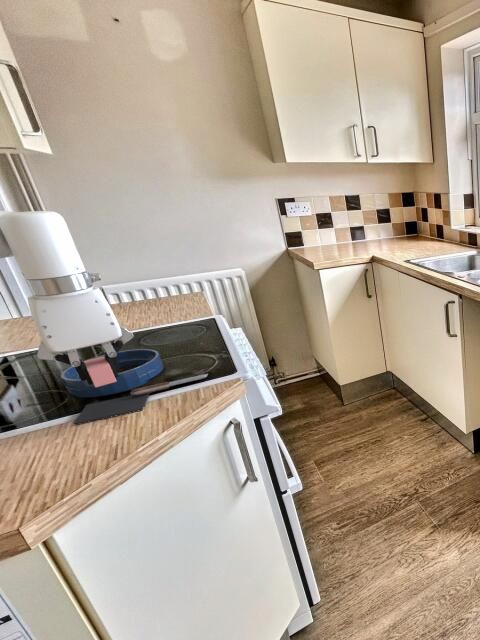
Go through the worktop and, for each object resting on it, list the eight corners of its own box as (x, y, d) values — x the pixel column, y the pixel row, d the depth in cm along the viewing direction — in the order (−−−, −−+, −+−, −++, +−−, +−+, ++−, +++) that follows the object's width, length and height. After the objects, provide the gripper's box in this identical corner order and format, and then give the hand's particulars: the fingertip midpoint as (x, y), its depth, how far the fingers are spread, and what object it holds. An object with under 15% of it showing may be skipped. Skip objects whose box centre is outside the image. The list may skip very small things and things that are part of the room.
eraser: (95, 387, 77) (87, 370, 76) (90, 377, 81) (82, 361, 80) (116, 381, 79) (109, 364, 78) (110, 372, 83) (103, 356, 82)
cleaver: (207, 370, 96) (207, 373, 92) (209, 376, 97) (209, 379, 93) (131, 386, 89) (129, 391, 85) (134, 393, 89) (131, 397, 85)
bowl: (58, 407, 83) (48, 387, 82) (83, 376, 96) (75, 358, 95) (158, 387, 91) (151, 368, 89) (170, 360, 104) (163, 344, 102)
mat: (73, 425, 77) (72, 423, 77) (87, 406, 84) (86, 404, 84) (142, 410, 82) (141, 408, 82) (150, 393, 88) (149, 391, 88)
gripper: (118, 273, 81) (151, 359, 88) (-10, 292, 70) (40, 389, 77) (125, 278, 77) (160, 369, 84) (-10, 299, 65) (43, 402, 72)
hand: (102, 378), depth 80 cm, fingers closed on eraser, 3 cm apart
